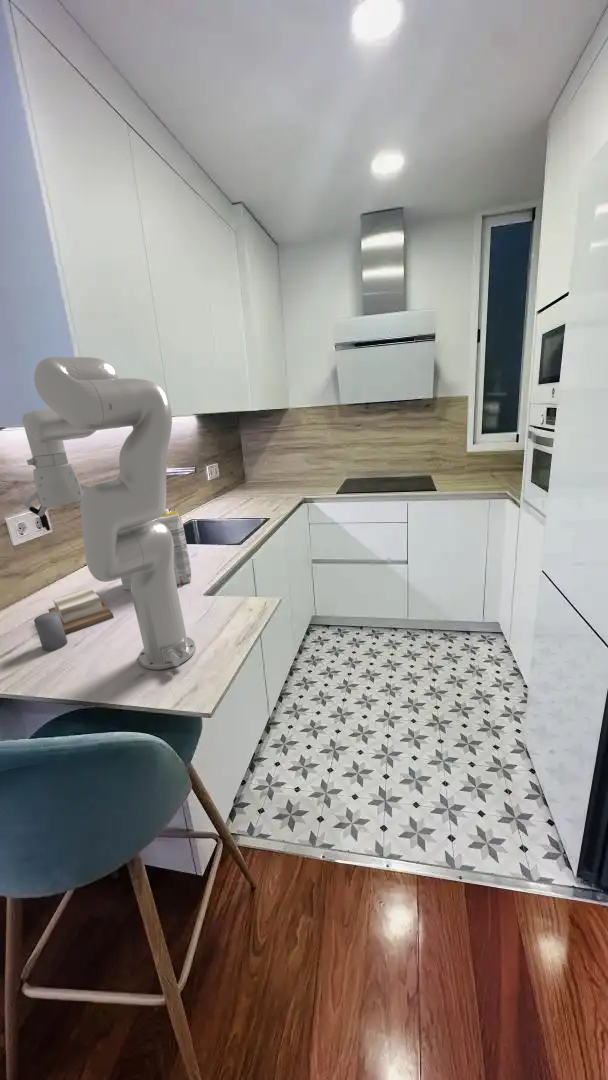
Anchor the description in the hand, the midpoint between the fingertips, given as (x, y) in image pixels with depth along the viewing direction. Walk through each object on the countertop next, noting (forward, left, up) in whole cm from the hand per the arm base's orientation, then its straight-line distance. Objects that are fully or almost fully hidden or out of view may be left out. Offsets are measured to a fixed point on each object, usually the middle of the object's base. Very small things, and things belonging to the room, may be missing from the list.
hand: (68, 525), depth 118 cm
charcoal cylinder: (-12, +12, -26) cm, 31 cm away
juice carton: (+2, -27, -27) cm, 38 cm away
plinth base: (+1, +3, -26) cm, 27 cm away
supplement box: (+10, -17, -27) cm, 33 cm away
